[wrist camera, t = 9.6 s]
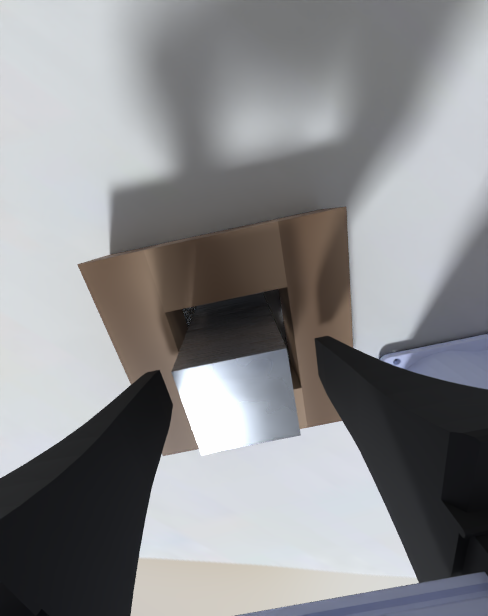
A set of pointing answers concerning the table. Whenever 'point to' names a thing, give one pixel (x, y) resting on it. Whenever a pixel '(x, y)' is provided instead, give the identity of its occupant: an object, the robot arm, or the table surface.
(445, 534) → the robot arm
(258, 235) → the socket block
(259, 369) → the steel peg
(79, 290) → the table surface
